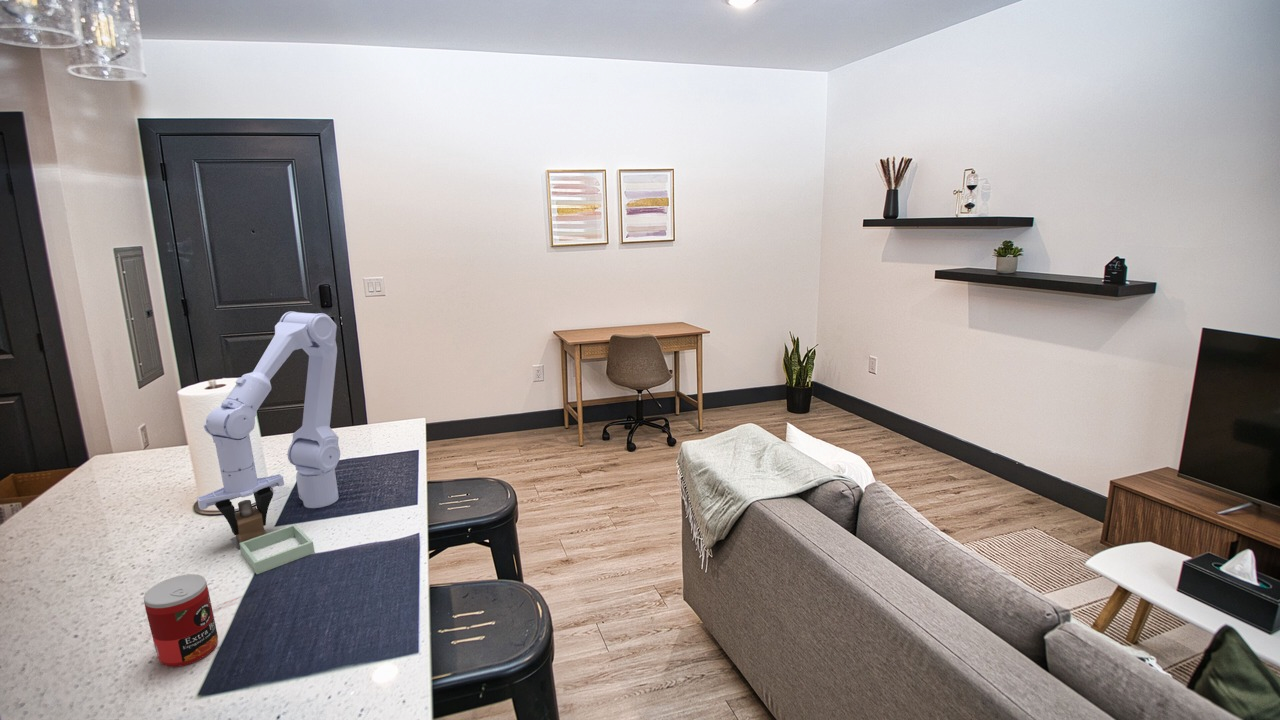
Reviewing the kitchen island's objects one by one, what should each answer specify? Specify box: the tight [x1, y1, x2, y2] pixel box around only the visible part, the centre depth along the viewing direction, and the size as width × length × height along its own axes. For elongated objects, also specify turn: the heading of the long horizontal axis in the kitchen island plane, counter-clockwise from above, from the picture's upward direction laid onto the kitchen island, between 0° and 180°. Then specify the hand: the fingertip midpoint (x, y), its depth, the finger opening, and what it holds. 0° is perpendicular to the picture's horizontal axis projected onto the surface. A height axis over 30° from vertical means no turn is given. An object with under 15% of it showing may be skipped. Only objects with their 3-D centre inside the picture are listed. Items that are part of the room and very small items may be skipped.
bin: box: [239, 523, 315, 575], centre depth 121 cm, size 10×10×4 cm
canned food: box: [143, 573, 219, 668], centre depth 96 cm, size 8×8×11 cm
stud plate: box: [229, 528, 268, 551], centre depth 126 cm, size 6×6×5 cm
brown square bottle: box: [235, 499, 266, 543], centre depth 126 cm, size 4×4×8 cm
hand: (249, 528), depth 126 cm, fingers closed on brown square bottle, 4 cm apart
